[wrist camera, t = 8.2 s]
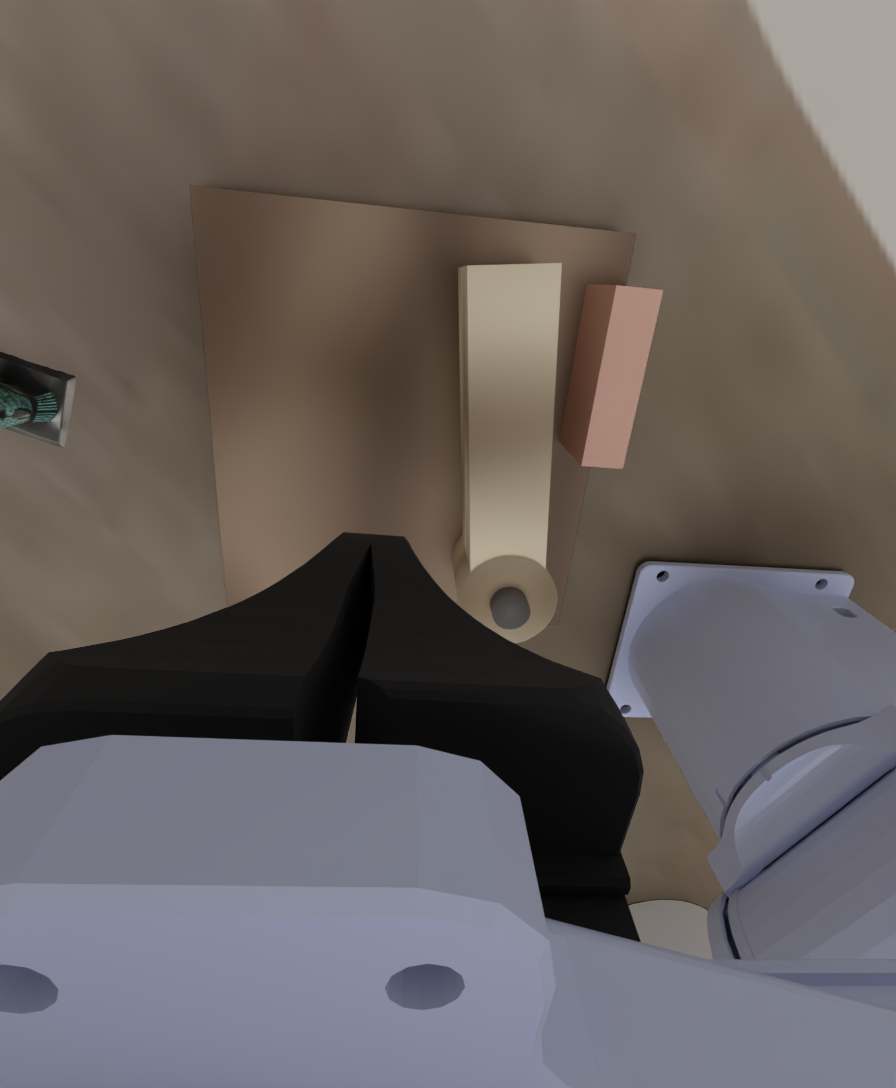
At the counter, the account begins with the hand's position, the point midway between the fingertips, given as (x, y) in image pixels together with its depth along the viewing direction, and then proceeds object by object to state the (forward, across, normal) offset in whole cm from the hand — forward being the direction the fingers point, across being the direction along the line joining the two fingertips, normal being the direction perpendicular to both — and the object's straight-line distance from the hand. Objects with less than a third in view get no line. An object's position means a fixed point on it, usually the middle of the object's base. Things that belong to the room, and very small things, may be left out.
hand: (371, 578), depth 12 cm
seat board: (+10, -1, 0) cm, 10 cm away
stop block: (+9, -7, -3) cm, 12 cm away
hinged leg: (+9, -4, -1) cm, 9 cm away
